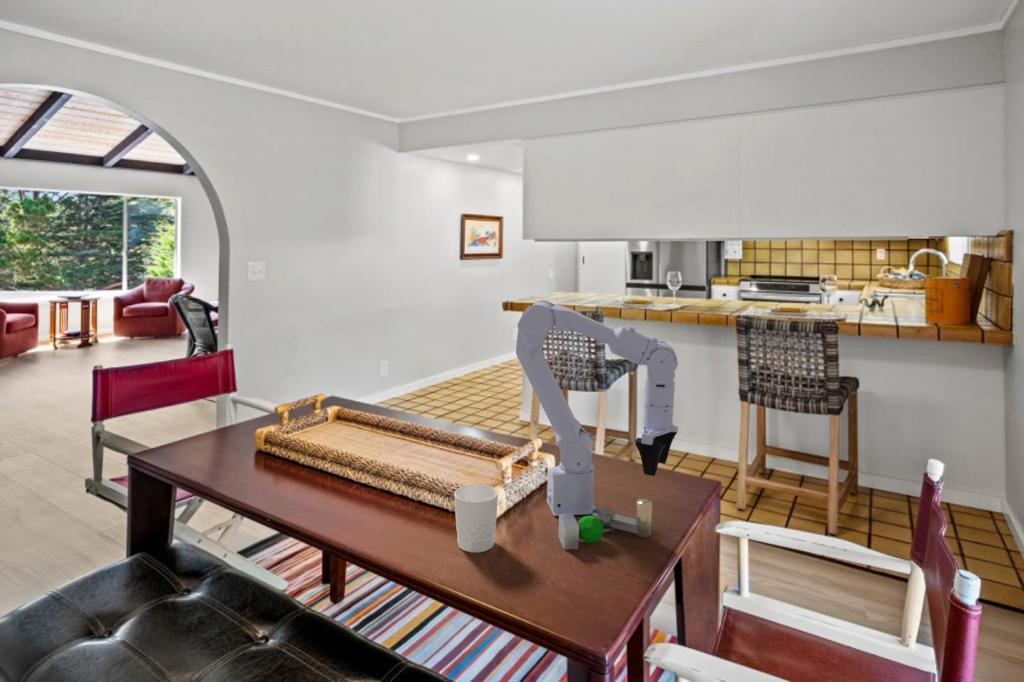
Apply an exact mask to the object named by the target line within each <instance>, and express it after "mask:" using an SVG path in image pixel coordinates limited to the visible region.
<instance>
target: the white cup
mask: <svg viewBox="0 0 1024 682" xmlns="http://www.w3.org/2000/svg"><path fill="white" fill-rule="evenodd" d="M498 492H499V491H498V490H497V489H496V488H495V487H492V486H491V485H487V484H481V483H479V484H467V485H464V486H460V487H459V488H456V490H455V491H454V492H453V493H454V513H455V514H454V515H455V526H456V527H455V529H456V533H457V535H456V537H457V540H456V541H457V545H458V548H459V549H461V550H462V551H464V552H467V553H468V552H469V553H484V552H487V551H489V550H490V549H493V547H494V545H495V542H496V541H495V540H496V529H497V528H496V527H497V517H498V502H499V501H498V500H499V499H498V498H499V493H498Z"/></svg>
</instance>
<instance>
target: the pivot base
mask: <svg viewBox="0 0 1024 682" xmlns="http://www.w3.org/2000/svg"><path fill="white" fill-rule="evenodd" d="M615 531H616V528H614V527H609V528H603V534H602V535H611V534H613V533H615Z"/></svg>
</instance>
